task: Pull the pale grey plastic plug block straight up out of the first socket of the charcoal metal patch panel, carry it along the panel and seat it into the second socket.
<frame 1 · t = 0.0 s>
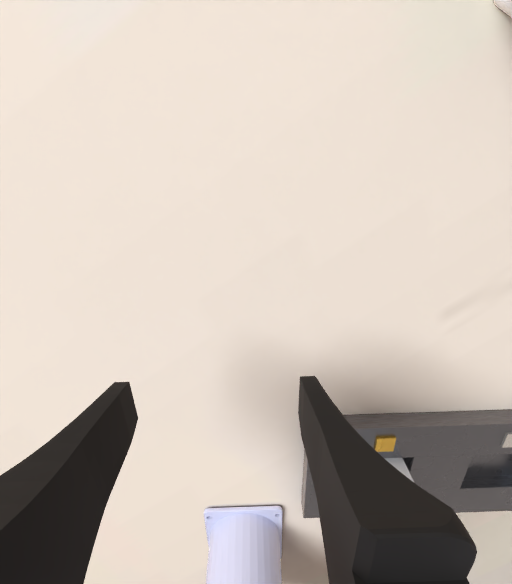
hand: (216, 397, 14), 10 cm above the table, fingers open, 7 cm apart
panel: (429, 458, 31), on the table
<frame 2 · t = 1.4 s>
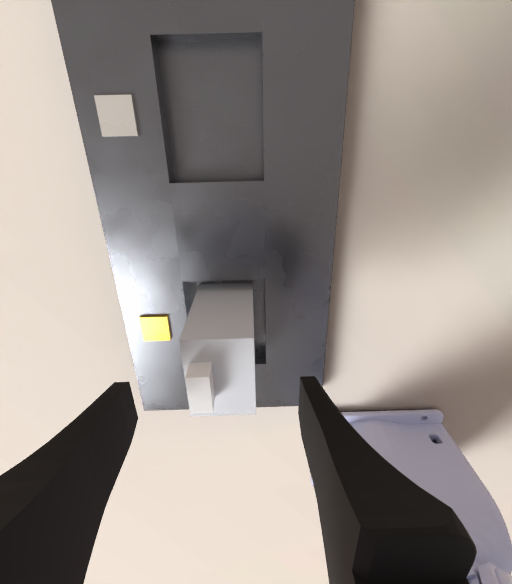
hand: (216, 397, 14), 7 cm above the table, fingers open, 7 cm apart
plug: (228, 315, 20), resting on panel
panel: (222, 227, 18), on the table
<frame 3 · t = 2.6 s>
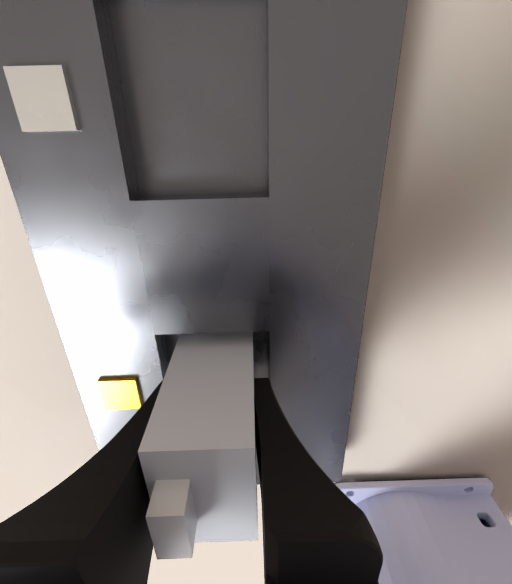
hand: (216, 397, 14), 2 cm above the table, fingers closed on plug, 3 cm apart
plug: (219, 371, 15), resting on panel, touching gripper
panel: (210, 258, 13), on the table
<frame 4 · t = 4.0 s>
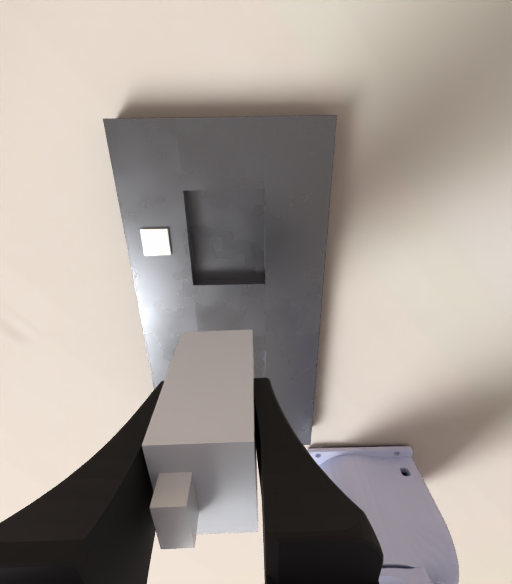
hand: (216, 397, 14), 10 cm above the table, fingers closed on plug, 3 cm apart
plug: (220, 369, 15), point 8 cm above the table, touching gripper
panel: (232, 309, 23), on the table
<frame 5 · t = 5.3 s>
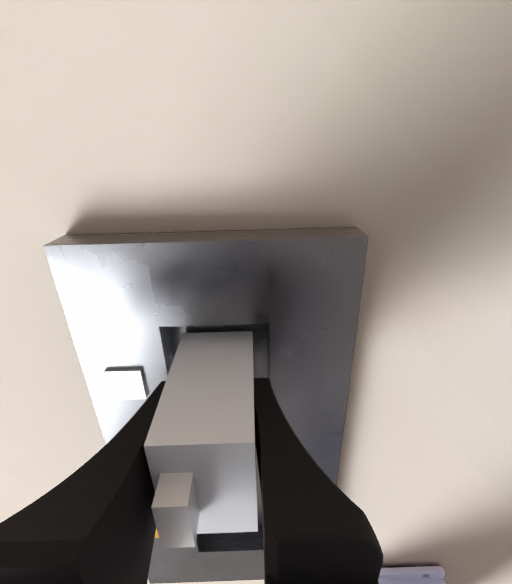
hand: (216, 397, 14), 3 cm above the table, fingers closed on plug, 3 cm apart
plug: (220, 370, 16), point 1 cm above the table, touching gripper
panel: (228, 438, 18), on the table
when the fingers open (2 cm above the table, at t = 5.7 s): plug stays where it is, resting on panel.
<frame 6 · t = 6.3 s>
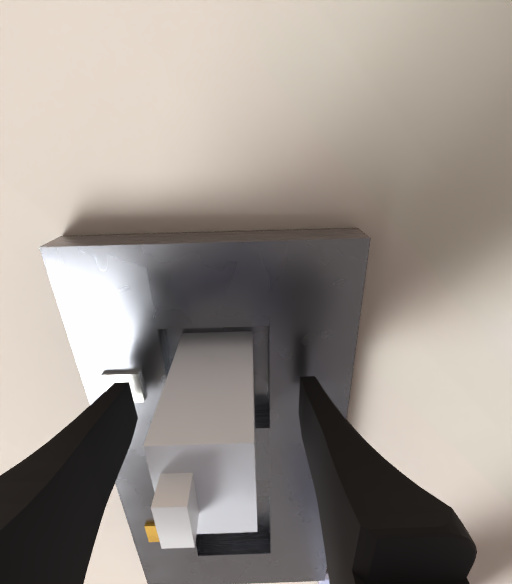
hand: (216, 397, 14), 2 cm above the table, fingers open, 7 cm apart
plug: (220, 370, 16), resting on panel
panel: (227, 441, 18), on the table
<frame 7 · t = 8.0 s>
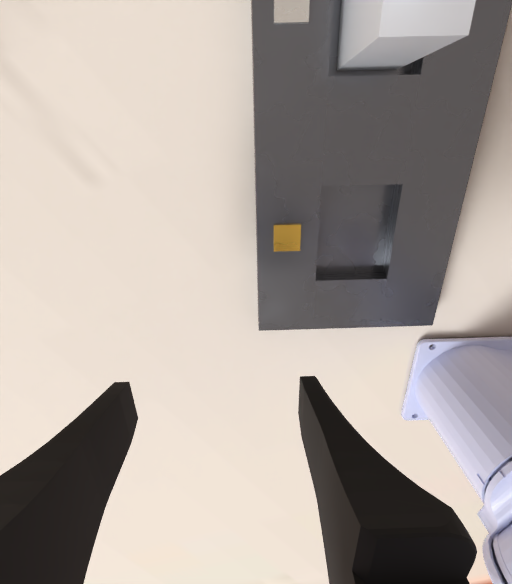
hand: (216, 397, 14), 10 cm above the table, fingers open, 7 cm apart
plug: (372, 16, 16), resting on panel
panel: (359, 134, 18), on the table
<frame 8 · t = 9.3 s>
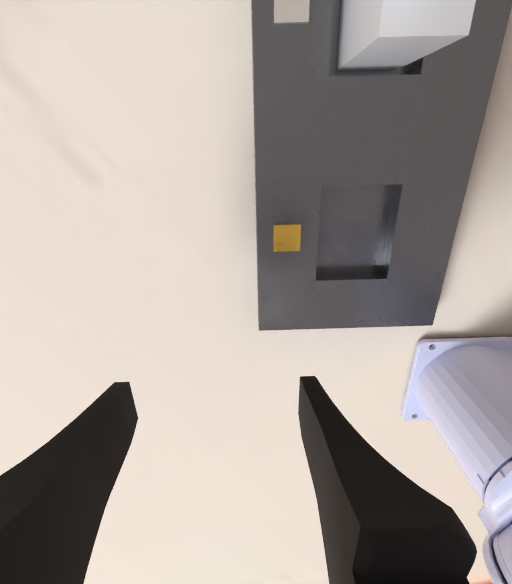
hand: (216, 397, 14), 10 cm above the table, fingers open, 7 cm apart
plug: (372, 16, 16), resting on panel
panel: (359, 134, 18), on the table
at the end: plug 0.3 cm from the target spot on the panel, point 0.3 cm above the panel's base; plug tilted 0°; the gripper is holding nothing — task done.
